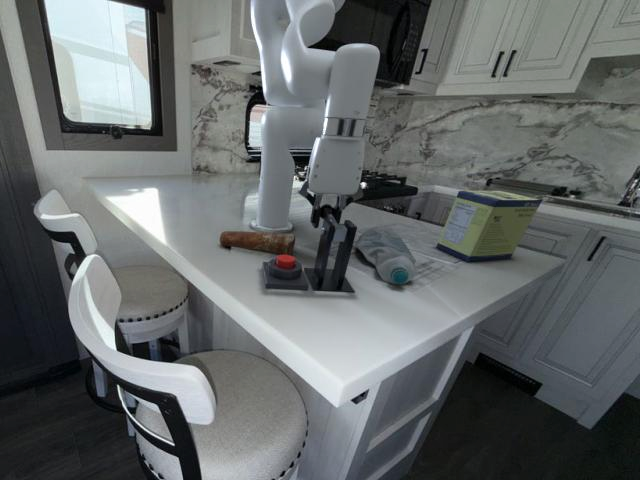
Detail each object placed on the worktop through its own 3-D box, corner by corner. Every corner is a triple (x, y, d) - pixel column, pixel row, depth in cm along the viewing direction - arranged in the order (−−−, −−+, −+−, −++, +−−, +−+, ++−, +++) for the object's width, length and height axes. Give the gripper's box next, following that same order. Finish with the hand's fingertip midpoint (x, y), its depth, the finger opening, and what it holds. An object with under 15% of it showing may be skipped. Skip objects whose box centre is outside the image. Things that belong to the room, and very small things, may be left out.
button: (275, 262, 62) (276, 254, 61) (292, 262, 62) (293, 254, 61) (276, 269, 59) (278, 261, 58) (295, 270, 59) (296, 262, 58)
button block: (261, 270, 66) (263, 253, 64) (298, 272, 67) (301, 255, 65) (265, 293, 58) (267, 274, 56) (306, 295, 58) (310, 276, 56)
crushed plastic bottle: (350, 246, 82) (356, 286, 61) (359, 220, 79) (369, 253, 57) (401, 257, 80) (425, 302, 59) (412, 231, 77) (443, 269, 55)
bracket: (302, 272, 67) (312, 214, 60) (338, 274, 67) (352, 216, 60) (311, 295, 58) (325, 230, 52) (353, 297, 58) (371, 232, 52)
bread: (290, 261, 72) (294, 239, 69) (216, 248, 77) (216, 226, 74) (295, 252, 77) (299, 231, 74) (225, 240, 82) (226, 219, 79)
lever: (315, 215, 67) (319, 201, 65) (330, 216, 67) (333, 202, 65) (329, 243, 57) (333, 227, 55) (346, 244, 57) (350, 227, 55)
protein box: (511, 258, 81) (544, 199, 73) (467, 262, 77) (497, 199, 69) (475, 244, 90) (501, 190, 82) (434, 247, 86) (457, 190, 78)
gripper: (377, 132, 60) (355, 223, 70) (295, 127, 60) (283, 220, 69) (394, 133, 54) (367, 234, 63) (302, 128, 54) (288, 230, 63)
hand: (323, 226), depth 66 cm, fingers closed on lever, 3 cm apart
